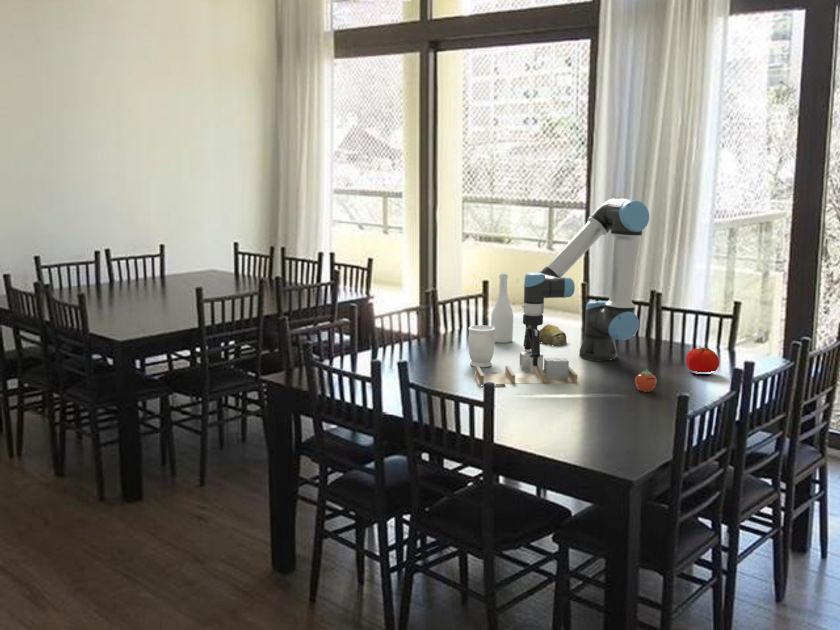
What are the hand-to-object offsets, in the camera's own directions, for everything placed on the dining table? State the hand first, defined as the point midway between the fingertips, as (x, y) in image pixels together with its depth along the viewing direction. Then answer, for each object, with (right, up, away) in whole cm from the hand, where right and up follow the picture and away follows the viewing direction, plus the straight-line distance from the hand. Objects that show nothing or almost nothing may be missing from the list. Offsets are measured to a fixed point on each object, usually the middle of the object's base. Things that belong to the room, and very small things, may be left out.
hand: (530, 370), depth 333 cm
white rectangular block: (0, 0, +1) cm, 1 cm away
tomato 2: (+64, -2, -1) cm, 64 cm away
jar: (-18, +1, +8) cm, 20 cm away
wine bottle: (-6, +9, +51) cm, 53 cm away
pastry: (+16, +9, +50) cm, 53 cm away
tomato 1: (+37, -6, -25) cm, 45 cm away
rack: (-4, -3, -14) cm, 15 cm away
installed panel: (+7, -2, -14) cm, 16 cm away
